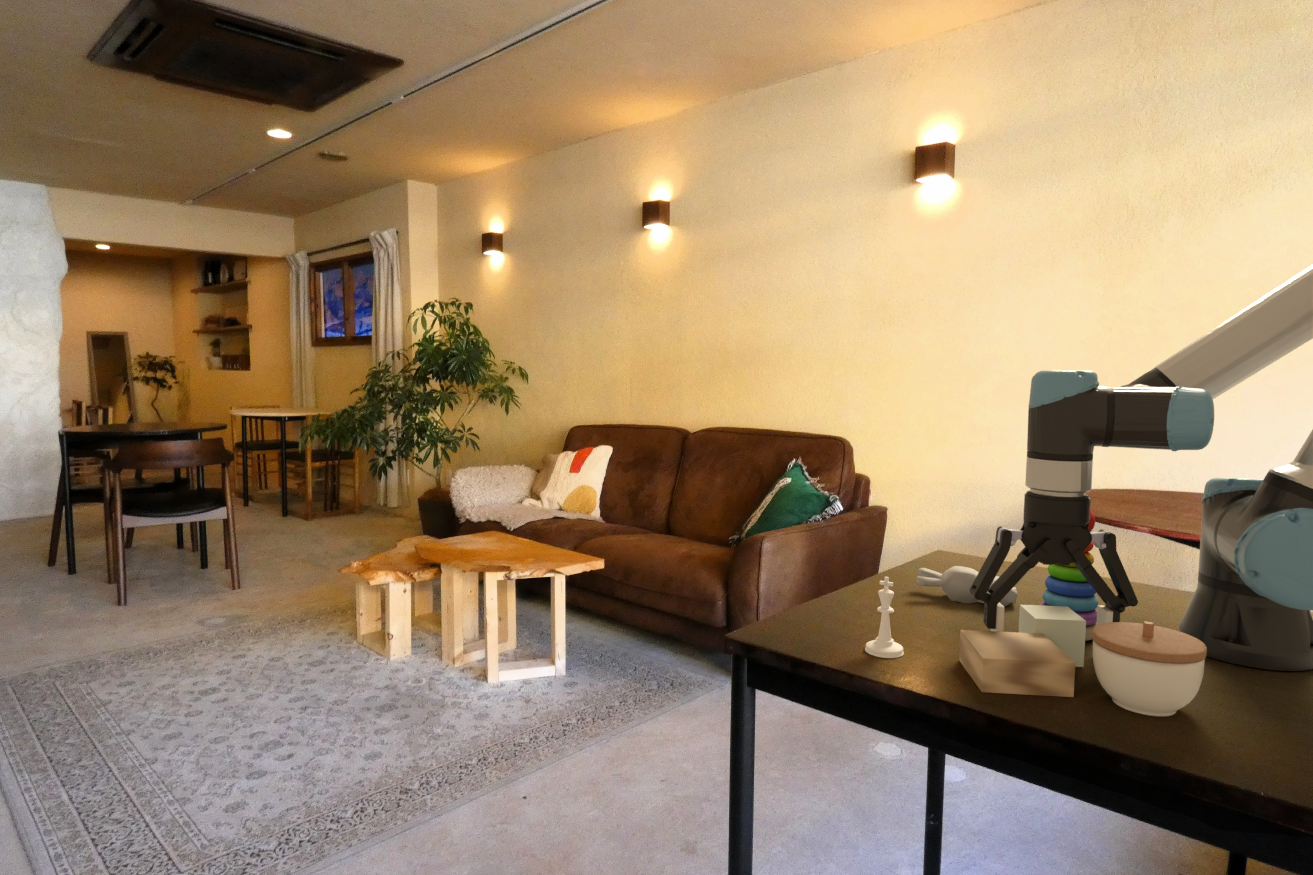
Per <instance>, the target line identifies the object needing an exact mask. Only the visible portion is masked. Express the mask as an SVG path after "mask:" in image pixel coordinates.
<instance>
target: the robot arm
mask: <svg viewBox="0 0 1313 875" xmlns="http://www.w3.org/2000/svg"><path fill="white" fill-rule="evenodd" d="M1311 340H1313V264H1311V265H1309V266H1308V267H1307V268H1305V269H1303V270H1302V271H1300V272H1299V273H1297V274H1295V275H1294V276H1292V277H1291V278H1290V279H1288V280H1286V281H1285V282H1283V283H1282V284H1281V285H1279V286H1277V287H1275V288H1274V289H1273V290H1271V291H1269V292H1268V293H1266V294H1265V295H1263V296H1262V297H1260V298H1259V299H1257V300H1256V301H1254V302H1253V303H1251V304H1249V305H1248V306H1246V307H1245V308H1243V309H1242V310H1240V311H1239V312H1238V313H1236V314H1234V315H1233V316H1230V317H1229V318H1227V319H1226V320H1225V321H1223V322H1222V323H1219V325H1217V326H1215V327H1214V328H1213V329H1211V330H1209V331H1208V332H1207V333H1205V334H1203V335H1202V336H1200V337H1198V338H1197V339H1196V340H1194V341H1193V342H1191V343H1190V344H1188V345H1186V346H1185V347H1183V348H1182V349H1180V350H1178V351H1177V352H1176V353H1174V354H1173V355H1171V356H1169V357H1168V358H1166V359H1165V360H1163V361H1162V362H1161V363H1159V364H1157V365H1155V366H1154V368H1152V369H1150V370H1149V371H1147V372H1145V373H1144V374H1142V375H1140V376H1139V377H1137V378H1136V379H1134V380H1133V381H1131V382H1129V383H1128V384H1125V385H1121V386H1119V387H1117V386H1113V387H1112V386H1105V385H1100V382H1099V380H1098V374H1097V373H1096V372H1095V371H1094V370H1050V369H1049V370H1048V369H1047V370H1046V369H1045V370H1040V371H1038V372H1036V373H1035V374H1034V375H1033V376H1032V378H1031V382H1030V389H1029V390H1030V392H1029V400H1028V401H1029V402H1028V413H1027V415H1028V416H1027V438H1026V439H1027V440H1026V442H1027V444H1026V445H1027V446H1026V464H1025V465H1026V466H1025V467H1026V468H1025V482H1024V483H1025V484H1024V485H1025V487H1026V488H1028V489H1029V490H1027V491H1025V493H1024V500H1023V501H1024V502H1023V523H1022V527H1021V528H1020V529H1012V528H1006V527H1005V526H1003V525H1000V526H998V527H997V528H996V533H995V540H994V543H993V545H992V547H991V549H990V551H989V553H988V555H987V556H986V558H985V560H984V562H983V564H982V566H981V568H980V569H979V571H978V572H979V573H978V575H977V577H976V578H975V580H974V582H973V584H972V586H971V588H970V593H971V594H972V595H973V596H974V597H975V598H976V599H977V600H981V601H984V603H983V605H984V606H983V624H984V626H985V627H986V628H987V629H988V630H990V631H997V632H1004V624H1005V606H1003V605H1002V604H1001V603H1000V601H1001V600H1002V599H1003V598H1004V597H1005V596H1006V595H1007V593H1008V592H1009V591H1010V590H1011V589H1012V588H1013V587H1015V586H1016V585H1017V584H1018V583H1019V582H1020V580H1022V578H1024V576H1025V575H1026V574H1027V573H1028V572H1029V571H1030V570H1031V569H1033V568H1035V567H1036V566H1037V565H1038V564H1039V563H1040V564H1042V565H1044V566H1048V565H1051V564H1060V565H1069V564H1071V563H1073V564H1074V565H1075V566H1076V567H1077V568H1078V569H1079V571H1080V572H1081V573H1082V574H1083V576H1084V577H1085V578H1086V580H1087V581H1088V582H1089V583H1090V585H1091V586H1092V587H1093V589H1094V590H1095V591H1096V594H1097V595H1098V597H1100V599H1101V601H1102V602H1103V603H1104V604H1105V605H1104V604H1101V605H1100V604H1098V606H1097V608H1096V611H1097V622H1096V623H1097V624H1096V626H1097V625H1099V624H1103V623H1109V622H1121V621H1120V620H1121V614H1122V613H1124V612H1125V611H1126V608H1128V607H1136V606H1137V605H1138V604H1139V599H1138V598H1137V595H1136V593H1135V591H1134V590H1135V589H1134V588H1133V586H1132V583H1131V581H1130V579H1129V576H1128V574H1127V572H1126V569H1125V567H1124V565H1123V563H1122V560H1121V557H1120V556H1119V553H1118V551H1117V536H1116V534H1114V533H1113V532H1110V531H1109V530H1106V529H1102V528H1101V529H1100V530H1098V531H1091V532H1090V531H1089V521H1090V509H1091V501H1092V500H1091V497H1090V496H1089V495H1088V494H1087V493H1089V492H1091V491H1092V484H1093V483H1092V482H1093V464H1094V462H1093V459H1094V449H1095V447H1102V448H1110V447H1113V448H1129V449H1145V450H1146V449H1149V450H1167V451H1168V450H1169V451H1172V452H1177V451H1200V450H1203V449H1204V448H1206V447H1207V446H1209V444H1210V442H1211V440H1212V436H1213V433H1214V427H1215V404H1214V399H1216V398H1217V397H1220V396H1221V395H1222V394H1225V393H1226V392H1228V391H1229V390H1231V389H1232V388H1234V387H1236V386H1237V385H1239V384H1241V383H1242V382H1244V381H1246V380H1247V379H1248V378H1249V379H1250V377H1252V376H1254V375H1256V374H1257V373H1259V372H1260V371H1262V370H1264V369H1265V368H1266V367H1268V366H1270V365H1272V364H1273V363H1275V362H1277V361H1278V360H1280V359H1282V358H1283V357H1284V356H1286V355H1288V354H1290V353H1291V352H1293V351H1295V350H1296V349H1298V348H1299V347H1301V346H1303V345H1305V344H1306V343H1307V342H1309V341H1311ZM1201 505H1202V512H1201V526H1200V539H1199V540H1200V543H1199V556H1198V558H1199V559H1198V574H1197V586H1196V589H1195V591H1194V593H1193V595H1192V596H1191V599H1190V601H1189V603H1188V605H1187V607H1186V609H1185V612H1184V613H1183V615H1182V618H1181V619H1180V622H1179V626H1178V631H1180V632H1183V633H1186V634H1188V635H1190V636H1193V637H1195V638H1197V639H1199V640H1200V641H1202V642H1203V643H1204V644H1205V646H1206V647H1207V654H1206V657H1208V658H1211V659H1215V660H1219V661H1223V662H1226V663H1230V664H1234V665H1239V666H1244V667H1249V668H1255V669H1262V670H1269V671H1270V670H1271V671H1283V672H1284V671H1285V672H1301V671H1310V670H1313V615H1312V612H1311V611H1313V429H1312V430H1311V431H1310V432H1309V434H1308V436H1307V438H1306V440H1305V441H1304V443H1303V444H1302V446H1301V448H1300V450H1299V451H1298V452H1297V454H1296V456H1295V457H1294V459H1293V460H1292V461H1291V462H1289V463H1287V464H1283V465H1280V466H1276V467H1273V468H1269V470H1268V472H1267V473H1266V475H1265V476H1264V478H1262V479H1261V478H1240V477H1238V478H1235V477H1232V478H1231V477H1214V478H1210V479H1209V480H1208V481H1206V482H1205V485H1204V490H1203V496H1202V497H1201ZM1018 540H1020V542H1021V543H1022V544H1023V546H1024V547H1023V549H1021V550H1020V552H1019V553H1018V554H1017V555H1016V558H1015V559H1014V560H1013V561H1012V562H1011V563H1010V565H1009V566H1008V567H1007V568H1006V569H1005V571H1003V573H1001V575H999V578H998V579H997V580H996V581H995V582H994V583H993V584H992V582H993V580H994V578H995V576H998V575H997V574H998V572H999V571H1000V569H1001V567H1002V565H1003V564H1004V563H1005V559H1006V558H1007V556H1008V554H1009V553H1010V550H1011V547H1013V546H1015V545H1016V543H1017V541H1018ZM1091 541H1093V543H1094V547H1095V548H1098V551H1099V554H1100V556H1101V558H1102V561H1103V563H1104V565H1105V567H1106V570H1107V572H1108V575H1109V577H1110V580H1111V582H1112V584H1113V586H1114V589H1115V591H1116V593H1117V595H1116V594H1115V592H1113V590H1112V589H1111V587H1110V586H1109V585H1108V584H1107V582H1106V581H1105V580H1104V579H1103V577H1102V576H1101V575H1100V574H1099V572H1098V571H1097V570H1096V568H1095V566H1094V565H1093V564H1091V562H1090V561H1089V560H1088V558H1087V557H1086V556H1085V554H1084V553H1083V551H1084V550H1085V549H1086V548H1087V547H1088V546H1089V544H1090V543H1091ZM991 584H992V586H991ZM990 586H991V587H990ZM989 587H990V588H989Z"/></svg>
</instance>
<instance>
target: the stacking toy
mask: <svg viewBox="0 0 1313 875" xmlns="http://www.w3.org/2000/svg"><path fill="white" fill-rule="evenodd" d="M1095 525H1096V516H1095V513H1094V511H1093V510H1092V508H1090V521H1089V531H1090V532H1093V530H1094V528H1095ZM1094 547H1095V545H1094V543H1093V541H1091V543H1090V544H1089V546H1088V547H1087V548H1086V549H1085V550H1084V551H1083V553H1084V554H1085V556H1086V557H1087V558H1088V560H1089V561H1090V562H1091V564H1092V565H1093V564H1094V562H1095V557H1094V555H1093V554H1092V553H1091V552H1090V551H1092V550H1093V548H1094ZM1047 573H1048V576H1047V577H1046V578H1045V580H1044V585H1045V587H1046V589H1045V590H1044V591H1043V593H1042V599H1043V602H1041V603H1040V604H1039V605H1041V606H1065V607H1069V608H1070V609H1071V610H1073V611H1074V612H1075V613H1076V614H1078V615H1079V616H1080V617H1082V618H1083V619H1084V620H1086V632H1085V642H1086V641H1093V639H1092V630H1093V628H1094V627H1095V626H1096V624H1097V607H1098V605H1099V598H1098V596H1097V595H1096V594H1097V592H1096V591H1095V590H1094V589H1093V587H1092V586H1091V585H1090V583H1089V582H1088V581H1087V580H1086V578H1085V577H1084V576H1083V574H1082V573H1081V572H1080V571H1079V569H1078V568H1077V567H1076V566H1075V565H1074V564H1073V563H1071V564H1069V565H1060V564H1051V565H1047Z"/></svg>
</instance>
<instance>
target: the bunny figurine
mask: <svg viewBox="0 0 1313 875" xmlns="http://www.w3.org/2000/svg"><path fill="white" fill-rule="evenodd" d="M917 570H918V571H917V576H916V581H915V584H917V585H918V586H920V587H938V588H939V587H940V588H941V590H942V592H943V593H944V594H945V595H946V596H947V597H948V598H949V600H950V601H951V602H958V603H959V602H960V603H963V604H974V603H982V604H984V601H981V600H977V599H976V598H975V597H974V596H973V595H972V594H971V593H970V588H971V586H972V584H973V582H974V580H975V578H976V577H977V575H978V573H979V571H977V570H976V569H974V568H971V567H969V566H968V567H967V566H963V565H962V566H961V565H953V566H952V567H949V568H948V569H946V570H945V571H944V572H943V573H942V572H938V571H936V570H932V569H929V568H926V567H920V568H918V569H917ZM999 577H1000V575H996V576H995V578H994V580H993V582H992V584H993V583H994V582H995V581H996V580H997V579H998V578H999ZM992 584H991V586H992ZM991 586H990V587H991ZM990 587H989V588H990ZM1018 594H1019V593H1018V591H1017V587H1015V586H1014V587H1013V588H1012V589H1011V590H1010V591H1009V592H1008V593H1007V595H1006V596H1005V597H1004V598H1003V599H1002V600H1001V601H1000V603H1001V604H1002V605H1003V606H1004V607H1006V606H1008V605H1011V603H1014V604H1016V603H1017V600H1018V599H1017V598H1018Z"/></svg>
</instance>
